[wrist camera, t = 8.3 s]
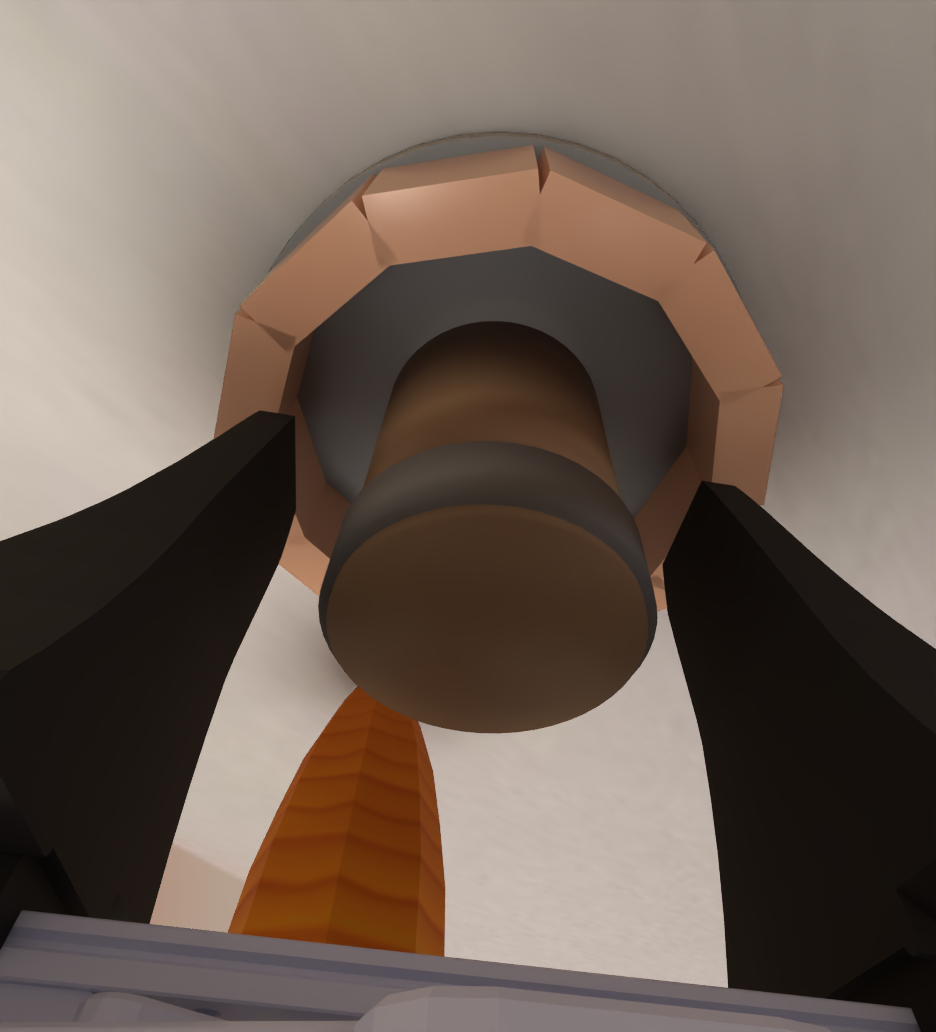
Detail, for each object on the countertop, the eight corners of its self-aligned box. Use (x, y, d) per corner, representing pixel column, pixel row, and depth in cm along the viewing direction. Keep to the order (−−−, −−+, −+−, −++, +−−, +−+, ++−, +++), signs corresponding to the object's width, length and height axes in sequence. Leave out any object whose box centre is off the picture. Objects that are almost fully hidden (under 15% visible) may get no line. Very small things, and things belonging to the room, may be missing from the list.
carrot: (456, 725, 22) (400, 1569, 10) (309, 711, 22) (75, 1550, 10) (473, 626, 19) (419, 1671, 7) (301, 608, 19) (-51, 1646, 7)
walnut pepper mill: (635, 335, 12) (715, 536, 8) (574, 524, 15) (604, 755, 10) (390, 294, 12) (315, 476, 7) (375, 494, 15) (313, 717, 10)
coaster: (855, 273, 12) (932, 331, 10) (591, 619, 18) (603, 702, 16) (320, 17, 10) (269, 20, 8) (223, 501, 16) (180, 578, 14)
